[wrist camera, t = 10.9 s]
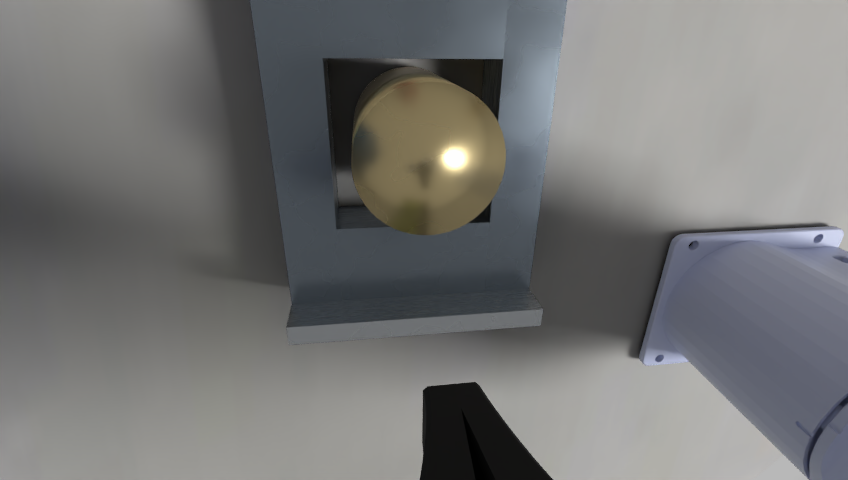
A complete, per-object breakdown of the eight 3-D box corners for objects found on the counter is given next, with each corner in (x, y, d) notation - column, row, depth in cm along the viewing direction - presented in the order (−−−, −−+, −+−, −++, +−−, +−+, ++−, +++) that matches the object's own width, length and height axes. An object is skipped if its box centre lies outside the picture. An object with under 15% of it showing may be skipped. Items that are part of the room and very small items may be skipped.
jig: (547, -66, 16) (604, -96, 12) (510, 276, 21) (540, 325, 18) (254, -79, 14) (219, -117, 11) (300, 289, 20) (288, 345, 17)
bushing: (470, 73, 17) (520, 91, 12) (453, 181, 19) (490, 239, 14) (357, 59, 16) (356, 71, 11) (350, 172, 18) (346, 230, 13)
